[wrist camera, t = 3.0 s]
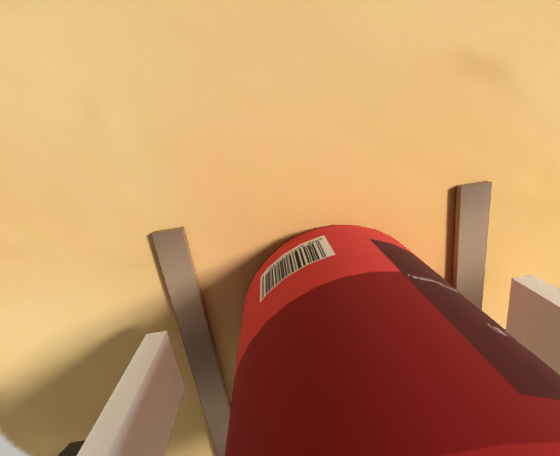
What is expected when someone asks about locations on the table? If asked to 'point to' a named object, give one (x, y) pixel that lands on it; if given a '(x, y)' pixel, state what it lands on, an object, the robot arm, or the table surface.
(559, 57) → the table surface
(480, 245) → the guide strips
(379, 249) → the canned food
